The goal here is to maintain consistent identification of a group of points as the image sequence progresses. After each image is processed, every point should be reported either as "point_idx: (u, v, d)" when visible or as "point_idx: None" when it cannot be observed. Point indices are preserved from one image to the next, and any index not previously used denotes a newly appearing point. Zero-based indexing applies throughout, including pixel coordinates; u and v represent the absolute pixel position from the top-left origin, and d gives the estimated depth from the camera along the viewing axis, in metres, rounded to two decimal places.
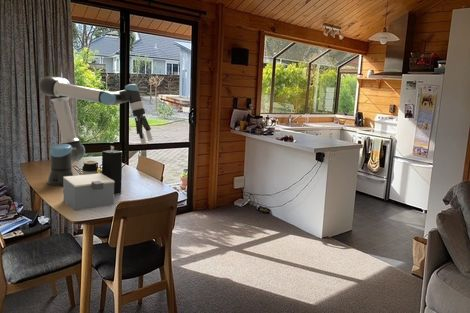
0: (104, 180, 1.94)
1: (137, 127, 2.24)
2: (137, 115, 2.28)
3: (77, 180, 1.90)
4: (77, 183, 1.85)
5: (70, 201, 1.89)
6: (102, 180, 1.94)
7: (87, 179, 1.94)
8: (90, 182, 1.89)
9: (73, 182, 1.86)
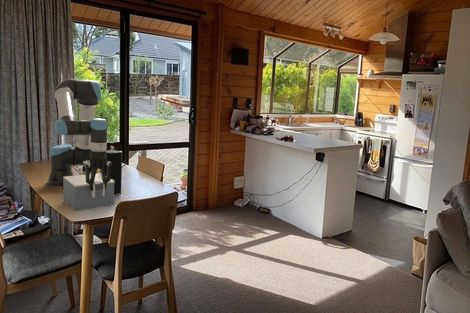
0: None
1: (86, 176, 1.81)
2: (90, 158, 1.80)
3: (77, 180, 1.90)
4: (77, 183, 1.85)
5: (70, 201, 1.89)
6: None
7: None
8: None
9: (73, 182, 1.86)
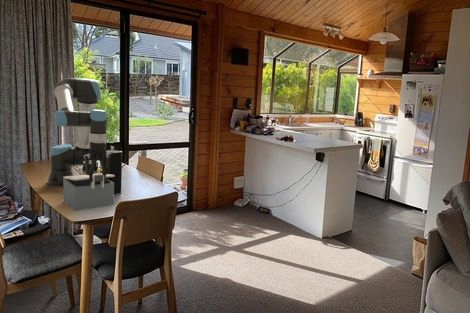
0: None
1: (85, 168, 1.81)
2: (90, 149, 1.80)
3: None
4: None
5: (70, 201, 1.89)
6: None
7: None
8: None
9: None
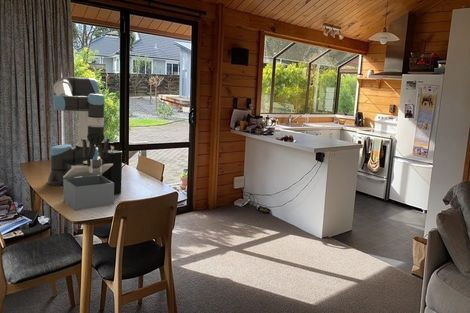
0: None
1: (83, 152, 1.82)
2: (88, 133, 1.81)
3: None
4: None
5: (70, 201, 1.89)
6: None
7: None
8: None
9: None
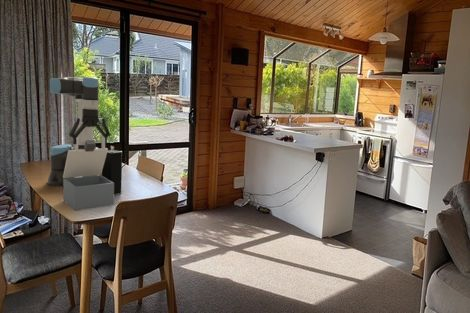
0: None
1: None
2: (82, 115, 1.85)
3: None
4: None
5: (70, 201, 1.89)
6: None
7: None
8: None
9: None
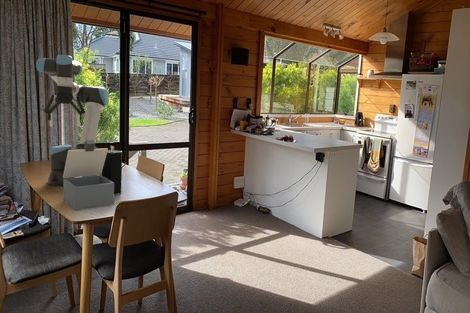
0: None
1: (46, 105, 1.90)
2: (57, 92, 1.92)
3: None
4: None
5: (70, 201, 1.89)
6: None
7: None
8: None
9: None
